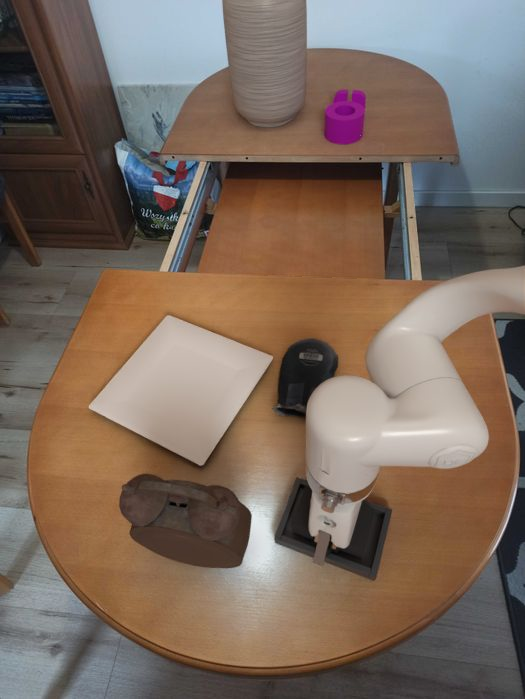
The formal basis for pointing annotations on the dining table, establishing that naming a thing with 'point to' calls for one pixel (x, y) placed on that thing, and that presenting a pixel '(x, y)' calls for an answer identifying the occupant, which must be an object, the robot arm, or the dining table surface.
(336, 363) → the electronic device
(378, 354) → the robot arm
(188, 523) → the alarm clock
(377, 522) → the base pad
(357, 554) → the black rectangular block
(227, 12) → the vase
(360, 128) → the magenta ring with prongs
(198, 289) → the dining table surface
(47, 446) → the dining table surface
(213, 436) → the plate
